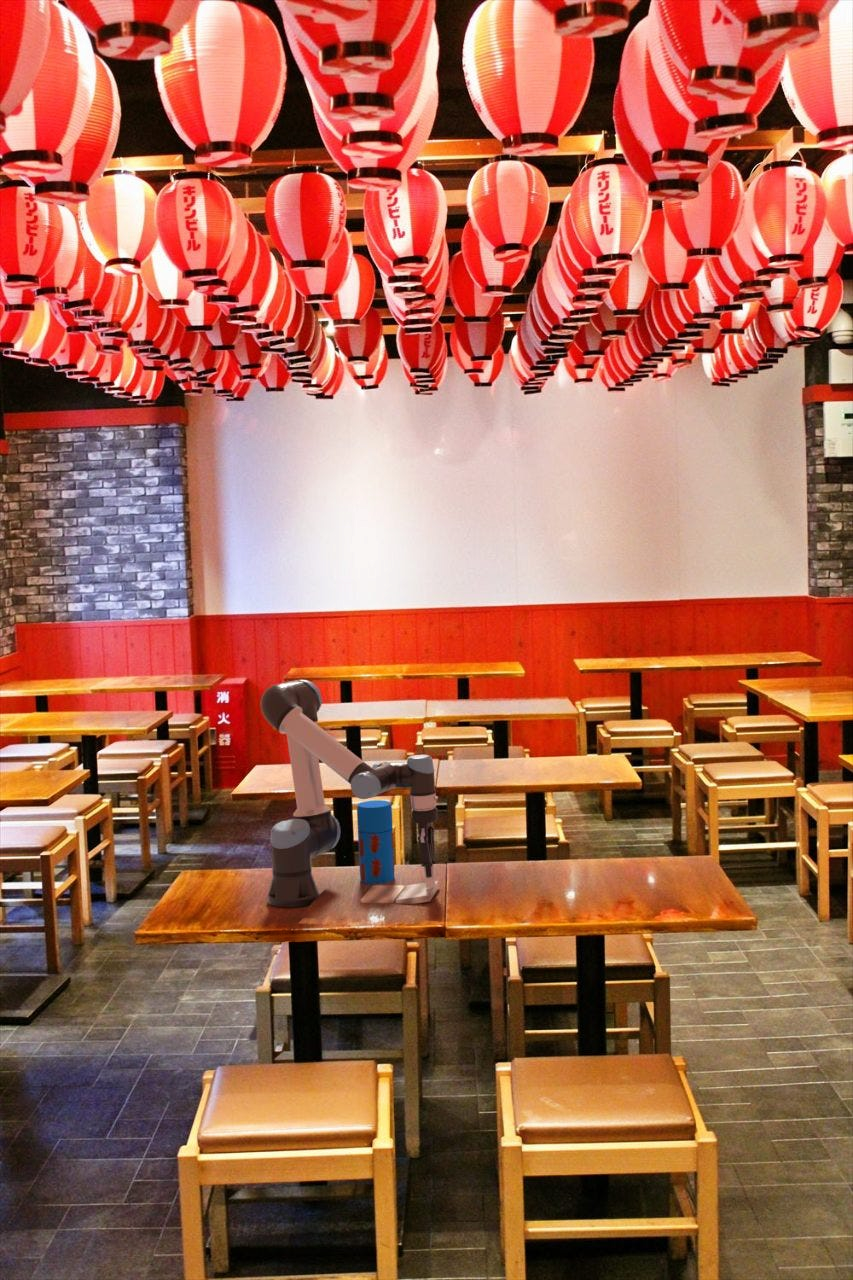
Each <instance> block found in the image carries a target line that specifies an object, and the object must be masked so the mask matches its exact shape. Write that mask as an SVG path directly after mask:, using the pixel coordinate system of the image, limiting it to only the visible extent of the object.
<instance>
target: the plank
mask: <svg viewBox="0 0 853 1280" xmlns="http://www.w3.org/2000/svg"><path fill="white" fill-rule="evenodd" d="M435 883H436V887H435V888H426V884H425V882H421V883H420V882H419V883H414V884H413V883H412V884H406V885H405V888H404V890H403V891H402V892H401V894H400V895H399V896H398V898H397V899H396V901H395V903H396V904H409V905H410V904H412V905H413V904H421V903H429V902H431V900H432V899H433V897H434V896H435V894H436V893H437V892H438V890H439V889H440V887H441V885H440V881H439V880H435Z"/></svg>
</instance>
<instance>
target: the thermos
mask: <svg viewBox="0 0 853 1280" xmlns="http://www.w3.org/2000/svg"><path fill="white" fill-rule="evenodd" d="M356 818H357V821H356V823H357V837H358V838H357V840H358V862H359V878H360V881H361V882H362V883H365V884H370V885H372V884H373V885H381V884H386V883H390V882H392V881H394V880H395V855H394V854H395V853H394V852H395V851H394V832H393V831H394V829H393V808H392V802H390V801H388V800H380V799H379V800H376V799H375V800H367V801H361V802H359V803H357V805H356Z"/></svg>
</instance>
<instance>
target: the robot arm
mask: <svg viewBox="0 0 853 1280" xmlns="http://www.w3.org/2000/svg"><path fill="white" fill-rule="evenodd" d="M322 703H323V699H322V694H321V691H320V689H319V688H318V687H317V685H316V684H314V682H311V681H309V680H307V679H294V680H291V681H286V682H282V683H277V684H272V685H271V686H269V687H268V688H267V689H266V690H265V691H264V692H263V693H262V696H261V698H260V711H261V714H262V715H263V718H264V719H265V721H266V722H267V723H268V724H269V725H270V726H271V727H272V728H273V729H275V730H276V731H277V732H279V733H280V734H282V735H285V734H286V737H287V738H286V740H287V744H288V745H287V746H288V752H289V753H288V754H289V759H290V767H291V775H292V781H293V787H294V793H295V801H296V809H295V810H294V812H293V814H292V816H293V818H290V819H287V820H282V821H279V822H277V823H275V824H274V825H273V827H271V829H270V839H269V842H270V851H271V853H270V855H271V869H272V877H271V878H272V879H271V882H270V886H269V889H268V893H267V903H268V905H270V906H272V905H273V906H272V907H275V906H276V907H275V908H283V907H285V908H287V909H289V908H298V907H299V908H300V907H306V906H309V905H312V903H314V901H316V900H317V899H318V897H319V895H320V894H319V892H320V891H319V888H318V887H317V884H316V881H315V878H314V876H313V874H312V873H313V872H312V869H313V868H312V859H315V858H316V857H318V856H320V855H323V854H326V853H328V852H329V851H331V850H332V849H333V848H335V847H336V846H337V844H338V842H339V840H340V838H341V826H340V822H339V820H338V819H337V818H336V817H335V815H333V814H332V810H331V809H332V808H331V807H329V806H328V805H326V802H325V796H324V789H323V781H322V775H321V767H320V761H321V762H322V763H323V764H325V765H326V766H327V767H328V768H329V769H330V770H332V771H333V772H334V773H336V774H337V775H338V776H340V777H341V778H342V779H343V780H345V781H346V782H347V783H348V784H350V789H351V792H352V794H353V795H354V797H356V798H358V799H360V800H367V799H372V798H374V797H376V796H378V795H381V794H383V793H386V792H388V791H391V790H393V789H409V795H410V797H409V799H410V807H411V809H412V810H411V821H412V822H413V823H414V824H418V825H419V828H418V829H417V832H418V836H417V841H418V844H419V845H418V846H419V852H420V859H421V864H420V867H422V868H423V871H424V881H425V882H424V883H425V884H426V888H435V887H436V883H435V881H436V874H435V873H436V871H435V865H436V864H437V861H436V852H435V850H436V847H435V826H433V823H435V822H438V820H439V819H438V818H439V817H438V815H439V814H438V808H437V801H438V799H439V797H438V796H436V781H435V767H434V762H433V761H434V760H433V758H432V756H431V755H429V754H415V755H411V756H408V757H407V761H406V762H387V761H384V762H376V763H373V765H372V766H370V765H369V764H367V763H366V762H365V761H363V760H362V759H361V758H360V757H359V756H357V755H356V754H354V753H353V752H352V751H351V750H350V749H348V748H347V747H346V746H345V745H343V743H341V742H339V741H338V740H337V739H336V738H335V737H333V736H332V735H330V733H328V732H327V731H325V730H324V729H323V728H322V727H321V726H319V725H318V723H319V718H318V712H319V711H320V708H321V707H322Z"/></svg>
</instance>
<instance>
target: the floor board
mask: <svg viewBox="0 0 853 1280" xmlns="http://www.w3.org/2000/svg"><path fill="white" fill-rule="evenodd" d="M405 887H406V885H399V884H398V885H393V884H392V885H390V884H386V885H385V884H383V885H382V884H373V885H372V886H371V887H370V888H369V889H368V891H367V892H366V893H365V894H364V895H363V896H362V897H361V899H360V903H364V904H365V903H367V904H369V903H370V904H371V903H372V904H373V903H374V904H395V903H396V899H397V898H398V896H399V895H400V894H401V892H402V891H403V890H404V888H405Z"/></svg>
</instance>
